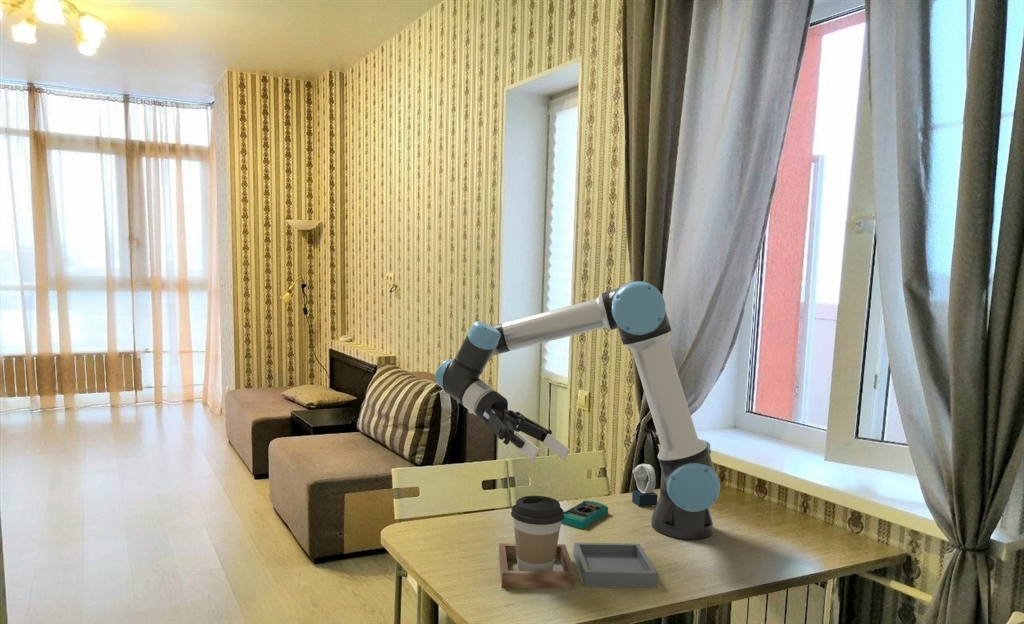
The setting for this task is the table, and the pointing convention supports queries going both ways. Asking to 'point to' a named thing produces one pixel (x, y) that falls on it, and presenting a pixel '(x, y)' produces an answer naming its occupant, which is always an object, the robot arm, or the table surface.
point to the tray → (614, 565)
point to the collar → (536, 577)
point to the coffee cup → (536, 532)
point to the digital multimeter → (584, 514)
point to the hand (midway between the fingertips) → (552, 454)
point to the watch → (644, 494)
